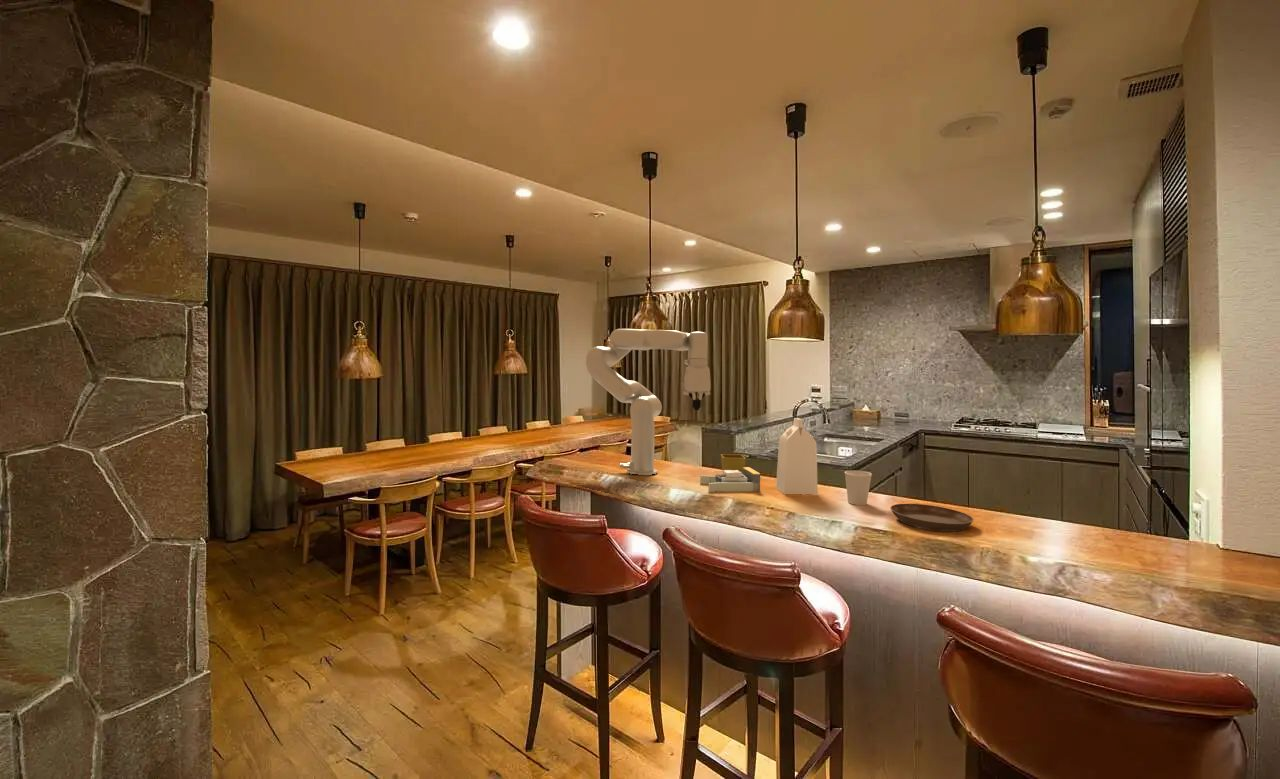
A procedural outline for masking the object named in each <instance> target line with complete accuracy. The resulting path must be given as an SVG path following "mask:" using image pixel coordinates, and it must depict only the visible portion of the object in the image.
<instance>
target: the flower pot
mask: <svg viewBox="0 0 1280 779" xmlns="http://www.w3.org/2000/svg"><path fill="white" fill-rule="evenodd" d="M746 459H747V458H746V457H745V456H744V455H743V454H730V453H728V454H727V453H723V454H721V453H720V462H721V463H720V464H721V465H720V466H721V470H722V471H723V470H738V471H740V472H741V473H742V474H743V467H746V466H745V465H746Z"/></svg>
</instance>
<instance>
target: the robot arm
mask: <svg viewBox="0 0 1280 779" xmlns="http://www.w3.org/2000/svg"><path fill="white" fill-rule="evenodd" d="M708 338H709V337H708V334H707V333H706V332H705V331H704V332H703V331H693V332H692V331H691V332H690V333H688V332H683V331H679V330H672V329H671V330H668V329H667V330H665V329H644V328H643V329H641V328H640V329H638V328H637V329H636V328H617V329H614V330H613V331H612V332H611V334H610V336H609V341H610V344H609V345H607V346H601V345H600V346H594V347H591V348H590V349H589V350H588V352H587V354H586V356H585V365H586V370H587V371H588V374H590V376H591V377H592V378H593V380H594V381H596V382H597V383H598V384H599V385H600V386H601V387H603V389H605V390H606V392H608V393H609V394H611V395H612V396H613V397H614V398H615V399H616V400H617V401H618V402H620V403H623V404H630V407H629V408H630V409H629V412H630V413H629V414H630V422H631V440H630V442H631V443H630V444H631V445H630V447H631V448H630V451H631V452H630V454H631V455H630V460H629V462H627V463H623V462H620V463H619V468H620V469H627V470H626V472H628V473H627V474H629V473H630V474H629V475H632V474H638V475H637V476H653V475H652V474H655V475H657V474H658V469H656V468H655V433H656V432H655V431H656V430H655V428H656V427H655V421H654V418H656V417H658V416H659V415H660V414H661V412H662V410H663V409H662V408H663V405H662V402H661V401H660V399H659V398H658V397H657V396H656V395H654V393H652V392H651V391H650V390H648V388H647V387H645V386H644V385H642V384H641V383H640V382H638V381H635V380H632V379H631V380H629V379H626V378H625V377H623V376H622V375H620V373H618V372H617V371H616V370H614V369H613V368H611V367H613V366H615V365H616V364H618V363H619V362H620V361H621V360H622V359H624V357H626V355H628V354H629V353H631V351H632V350H633V351H634V350H636V351H650V350H671V351H672V350H673V351H678V352H685V351H687V359H686V360H684V361H683V364H685V365H687V366H686V367H685V371H684V379H683V392H682V394H683V395H684V396H688V397H689V398H690V399H691V401H692V402H691V403H692V405H691V406H692V409H693V410H694V411H700V409H701V402H702V399H703V398H705V397H706V396H710V395H711V373H710V372H711V370H710V367H708V340H709V339H708ZM696 393H697V397H696ZM656 473H657V474H656Z"/></svg>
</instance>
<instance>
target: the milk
mask: <svg viewBox="0 0 1280 779" xmlns="http://www.w3.org/2000/svg"><path fill="white" fill-rule="evenodd" d="M817 444H818V443H817V441H816V440H815V438H814V437H813V436H812V435H811V434H810V433H809V432H808V431H807V430H806V429H805V428H804V424H803V419H802V418H799V417H794V418H793V422H792V425H791V426H790V427H788V428H786V430H785V431H784V432H783V434H781V435H780V437H779V439H778V452H777V453H778V454H777V467H776V480H775V481H776V484H775V488H776V487H777V488H778V490H779V492H781V491H782V492H783V493H784V494H815V495H814V496H818V491H819V490H818V454H817V453H818V451H817V450H818V447H817ZM777 488H776V489H777ZM782 492H781V493H782ZM783 493H782V494H783ZM784 494H783V495H784Z"/></svg>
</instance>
